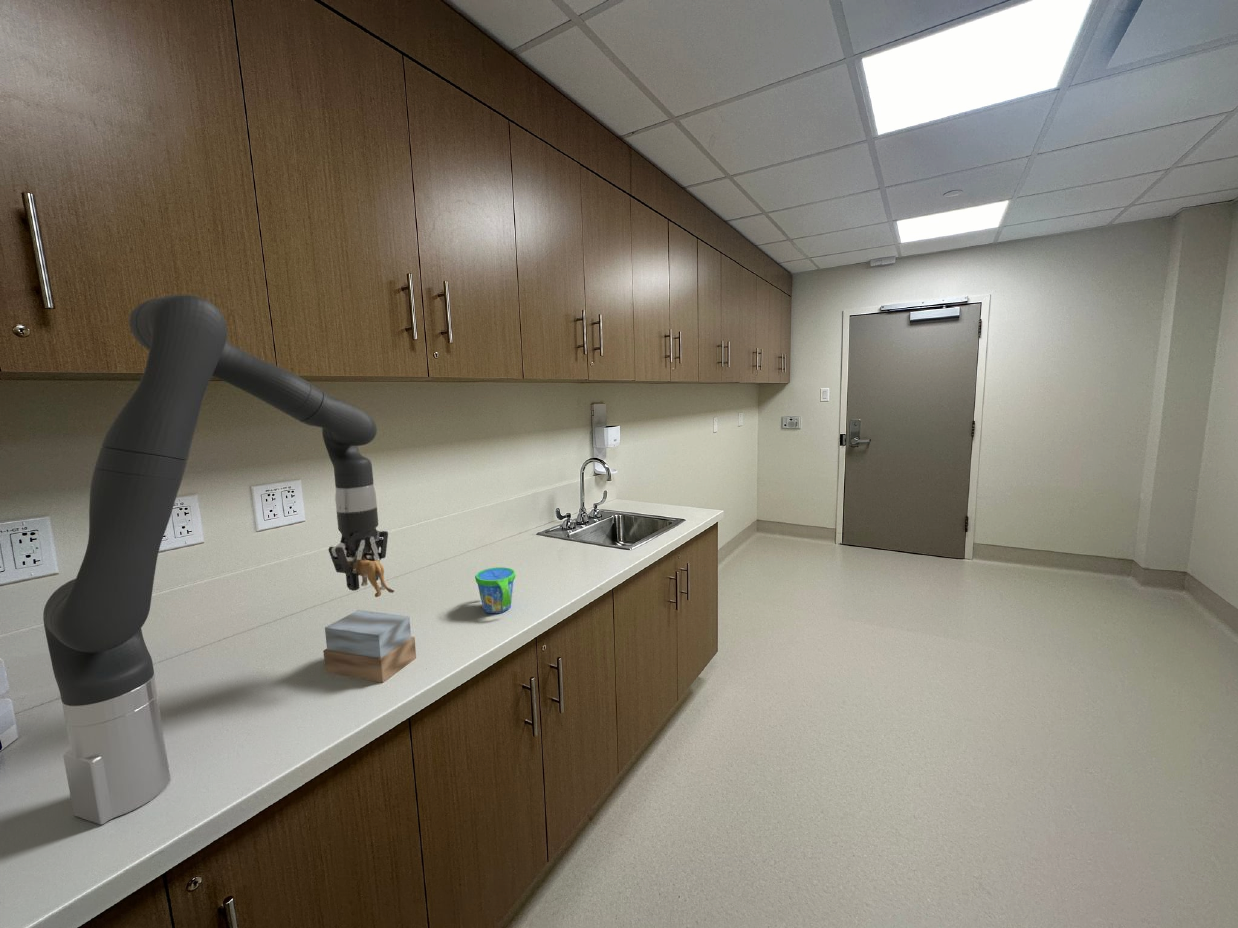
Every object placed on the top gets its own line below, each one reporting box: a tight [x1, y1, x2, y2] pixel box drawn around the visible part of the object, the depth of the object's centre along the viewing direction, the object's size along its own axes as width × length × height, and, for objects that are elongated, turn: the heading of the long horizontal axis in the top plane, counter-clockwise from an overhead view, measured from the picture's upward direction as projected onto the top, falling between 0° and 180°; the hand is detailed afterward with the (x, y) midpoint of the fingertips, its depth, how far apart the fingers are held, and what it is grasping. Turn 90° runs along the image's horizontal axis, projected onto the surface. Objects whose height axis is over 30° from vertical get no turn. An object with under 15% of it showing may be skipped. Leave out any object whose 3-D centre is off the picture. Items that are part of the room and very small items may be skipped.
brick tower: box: [323, 609, 417, 684], centre depth 106 cm, size 10×15×10 cm, turn 73°
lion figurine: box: [344, 549, 395, 598], centre depth 103 cm, size 15×5×9 cm, turn 68°
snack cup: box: [474, 566, 517, 614], centre depth 134 cm, size 16×10×10 cm
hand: (364, 584), depth 105 cm, fingers closed on lion figurine, 4 cm apart
